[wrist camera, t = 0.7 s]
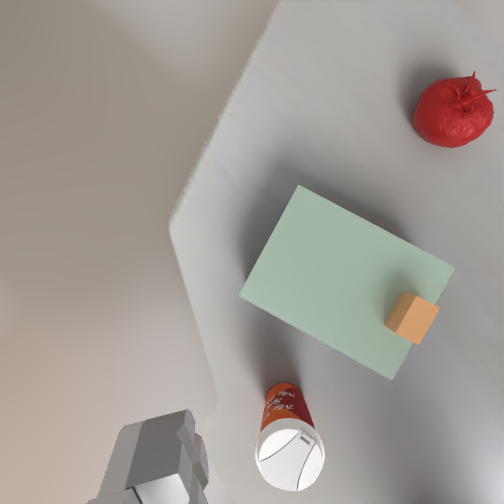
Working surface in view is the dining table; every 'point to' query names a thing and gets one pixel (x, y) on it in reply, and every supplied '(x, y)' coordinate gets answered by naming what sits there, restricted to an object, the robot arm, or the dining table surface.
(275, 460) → the coffee cup
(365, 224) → the lid
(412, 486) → the dining table surface
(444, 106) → the red tomato
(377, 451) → the dining table surface
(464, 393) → the dining table surface
